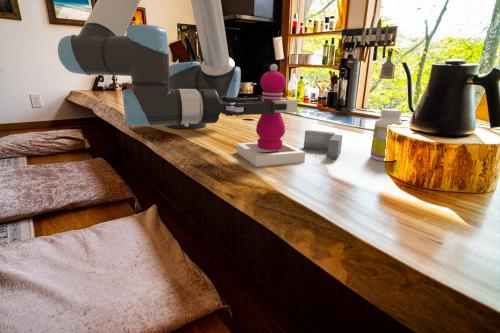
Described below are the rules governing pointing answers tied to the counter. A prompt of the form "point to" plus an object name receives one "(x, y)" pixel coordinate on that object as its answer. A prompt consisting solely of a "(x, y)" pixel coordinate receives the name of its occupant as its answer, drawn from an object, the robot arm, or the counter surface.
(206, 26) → the robot arm
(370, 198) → the counter surface
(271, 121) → the pepper mill
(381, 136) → the supplement bottle
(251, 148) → the socket
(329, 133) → the corner bracket
